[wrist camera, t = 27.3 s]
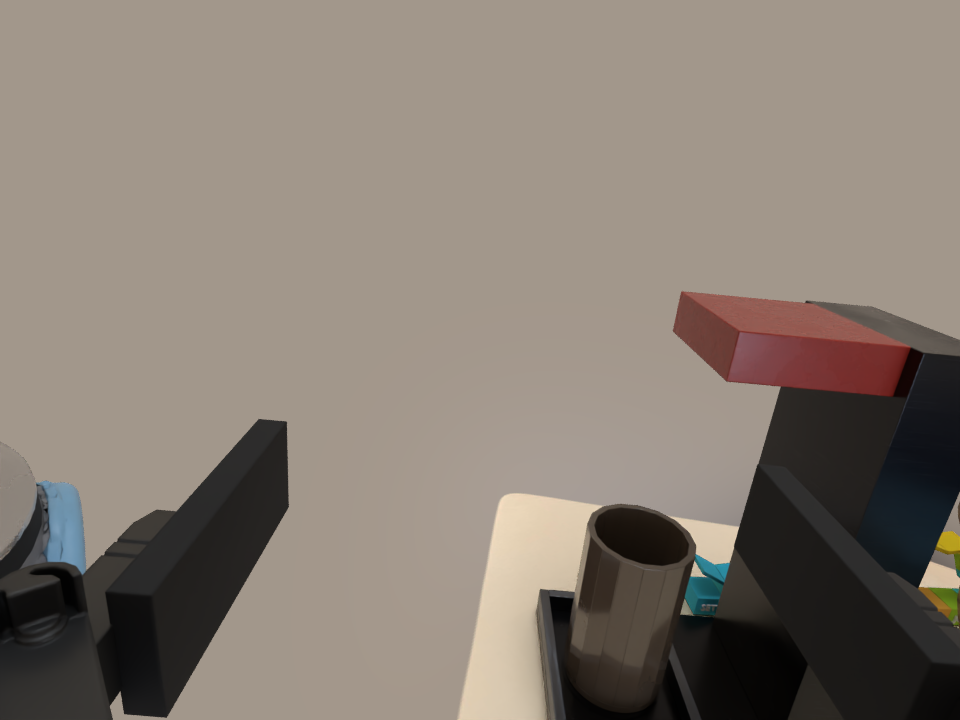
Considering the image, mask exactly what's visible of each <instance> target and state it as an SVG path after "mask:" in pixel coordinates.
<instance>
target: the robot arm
mask: <svg viewBox="0 0 960 720" xmlns="http://www.w3.org/2000/svg"><path fill="white" fill-rule="evenodd" d="M287 459H288V457H287V422H285V421H274V420H262V419H259V420H258V421H257V422H256V423H255V424H254V425H253V426H252V427H251V429H250V430H249V431H248V432H247V433H246V434H245V435H244V436H243V437H242V439H241V440H240V441H239V442H238V443H237V444H236V445H235V447H234V448H233V449H232V450H231V451H230V452H229V453H228V454H227V455H226V457H225V458H224V459H223V460H222V461H221V462H220V463H219V464H218V466H217V467H216V468H215V469H214V470H213V471H212V472H211V473H210V474H209V476H208V477H207V478H206V479H205V480H204V481H203V482H202V483H201V485H200V486H199V487H198V488H197V489H196V490H195V491H194V492H193V494H192V495H191V496H190V497H189V498H188V499H187V500H186V502H185V503H184V504H183V505H182V506H181V507H180V508H179V509H178V510H177V512H175V511H165V510H155V511H153V512H152V513H150V514H148V515H146V516H145V517H143V518H141V519H139V520H138V521H136V522H134V523H133V524H132V525H131V526H130V527H129V528H128V529H127V530H126V531H125V532H124V533H123V534H122V535H121V536H120V537H119V538H118V541H117V542H114V543H113V544H112V545H111V546H110V547H109V548H108V549H107V550H106V551H105V554H104V556H101V557H99V558H98V560H96V561H95V563H94V564H93V565H92V566H91V567H90V568H89V569H88V570H87V571H86V559H85V542H84V541H85V540H84V528H83V517H82V508H81V502H80V497H79V493H78V491H77V489H76V488H75V487H74V486H73V485H71V484H69V483H65V482H63V483H62V482H61V483H51V482H49V481H43V482H40V483H36V482H35V478H34V476H33V474H32V472H31V470H30V467H29V466H28V464H27V462H26V460H25V459H24V458H23V457H22V456H21V455H20V454H19V453H17V452H16V451H15V450H14V449H12V448H10V447H9V446H7V445H5V444H4V443H1V442H0V720H113V718H112V714H111V710H110V705H111V704H112V702H113V701H114V699H115V698H116V696H117V695H118V694H119V692H120V691H121V697H122V703H123V710H124V714H128V715H141V716H153V717H165V718H167V716H168V714H169V713H170V711H171V709H172V708H173V706H174V704H175V702H176V701H177V699H178V697H179V695H180V694H181V692H182V690H183V689H184V687H185V685H186V683H187V682H188V680H189V678H190V676H191V675H192V673H193V671H194V670H195V668H196V666H197V664H198V663H199V661H200V659H201V658H202V656H203V654H204V652H205V650H206V649H207V647H208V645H209V643H210V642H211V640H212V638H213V637H214V635H215V633H216V631H217V630H218V628H219V626H220V625H221V623H222V621H223V620H224V618H225V616H226V614H227V613H228V611H229V609H230V607H231V606H232V604H233V602H234V600H235V599H236V597H237V595H238V594H239V592H240V590H241V588H242V587H243V585H244V583H245V582H246V580H247V578H248V576H249V575H250V573H251V571H252V569H253V568H254V566H255V564H256V563H257V561H258V559H259V557H260V556H261V554H262V552H263V550H264V549H265V547H266V545H267V543H268V542H269V540H270V538H271V537H272V535H273V533H274V531H275V530H276V528H277V526H278V524H279V523H280V521H281V519H282V518H283V516H284V514H285V513H286V511H287V509H288V507H289V504H288V503H289V502H288V460H287ZM734 547H735V549H736V550H737V552H738V554H739V555H740V557H741V558H742V560H743V561H744V563H745V565H746V566H747V568H748V569H749V571H750V572H751V574H752V576H753V577H754V579H755V580H756V582H757V584H758V585H759V587H760V588H761V590H762V591H763V593H764V595H765V596H766V598H767V599H768V601H769V602H770V604H771V606H772V607H773V609H774V610H775V612H776V614H777V615H778V617H779V618H780V620H781V621H782V623H783V625H784V626H785V628H786V629H787V631H788V632H789V634H790V636H791V637H792V639H793V640H794V642H795V644H796V645H797V647H798V648H799V650H800V651H801V653H802V655H803V656H804V658H805V659H806V661H807V662H808V664H809V666H810V667H811V669H812V670H813V672H814V674H815V675H816V677H817V678H818V680H819V681H820V683H821V685H822V686H823V688H824V689H825V691H826V692H827V694H828V696H829V697H830V699H831V700H832V702H833V704H834V705H835V707H836V708H837V710H838V711H839V713H840V715H841V716H842V718H843V719H844V720H960V630H959V629H958V628H957V627H954V626H953V623H952V622H951V621H950V620H949V619H948V618H947V617H946V616H945V615H944V614H943V613H942V612H938V608H937V607H936V606H935V605H934V604H933V603H932V602H931V601H930V600H929V599H928V598H927V597H926V596H925V595H924V594H923V593H922V592H921V591H920V590H919V589H918V588H916V587H915V586H913V585H912V584H910V583H909V582H907V581H906V580H904V579H903V578H901V577H900V576H898V575H897V574H895V573H890V572H886V571H885V570H884V569H883V568H882V567H881V566H880V565H879V564H878V563H877V562H876V561H875V560H874V559H873V558H872V557H871V556H870V555H869V554H868V553H867V551H866V550H865V549H864V548H863V547H862V546H861V545H860V544H859V543H858V542H857V541H856V540H855V539H854V538H853V537H852V536H851V535H850V534H849V533H848V532H847V531H846V530H845V529H844V528H843V527H842V526H841V525H840V523H839V522H838V521H837V520H836V519H835V518H834V517H833V516H832V515H831V514H830V513H829V512H828V511H827V510H826V509H825V508H824V507H823V506H822V505H821V504H820V503H819V502H818V501H817V500H816V499H815V498H814V496H813V495H812V494H811V493H810V492H809V491H808V490H807V489H806V488H805V487H804V486H803V485H802V484H801V483H800V482H799V481H798V480H797V479H796V478H795V477H794V476H793V475H792V474H791V473H790V472H789V471H788V470H787V468H786V467H783V466H772V465H761V464H758V465H757V468H756V472H755V475H754V478H753V482H752V485H751V489H750V492H749V496H748V500H747V503H746V506H745V510H744V513H743V517H742V520H741V523H740V527H739V530H738V534H737V537H736V541H735V544H734Z"/></svg>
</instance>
